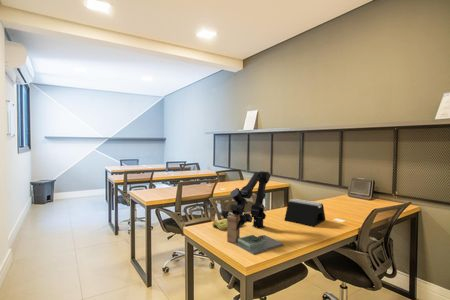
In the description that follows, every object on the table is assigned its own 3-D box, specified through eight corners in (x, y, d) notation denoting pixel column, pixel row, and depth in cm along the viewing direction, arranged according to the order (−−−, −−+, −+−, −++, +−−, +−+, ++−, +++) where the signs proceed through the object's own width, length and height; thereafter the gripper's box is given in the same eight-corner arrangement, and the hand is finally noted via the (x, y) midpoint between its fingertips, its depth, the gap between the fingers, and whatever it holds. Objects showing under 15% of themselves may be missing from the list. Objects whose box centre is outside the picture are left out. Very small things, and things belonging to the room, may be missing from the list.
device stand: (313, 227, 175) (314, 206, 175) (284, 221, 190) (284, 201, 190) (325, 220, 192) (325, 200, 192) (297, 214, 207) (297, 196, 207)
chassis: (264, 236, 156) (264, 231, 156) (283, 245, 143) (283, 239, 143) (235, 244, 144) (235, 238, 144) (253, 254, 131) (253, 248, 131)
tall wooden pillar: (231, 238, 153) (231, 214, 152) (239, 239, 151) (239, 215, 150) (227, 241, 148) (227, 216, 148) (235, 243, 146) (235, 217, 145)
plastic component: (222, 227, 166) (213, 218, 173) (219, 236, 169) (211, 226, 176) (243, 219, 179) (234, 211, 186) (241, 227, 182) (232, 219, 189)
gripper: (222, 197, 157) (213, 219, 147) (250, 200, 148) (243, 224, 139) (228, 207, 164) (220, 229, 154) (255, 210, 156) (248, 233, 146)
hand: (232, 228), depth 148 cm, fingers closed on tall wooden pillar, 6 cm apart
